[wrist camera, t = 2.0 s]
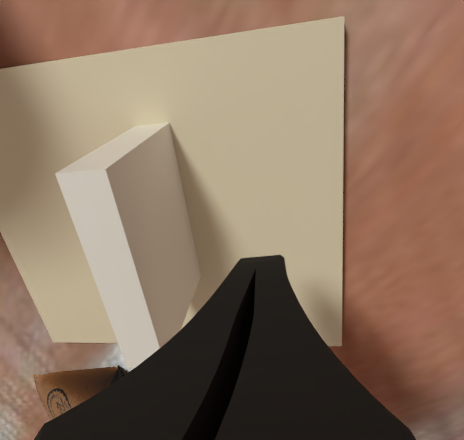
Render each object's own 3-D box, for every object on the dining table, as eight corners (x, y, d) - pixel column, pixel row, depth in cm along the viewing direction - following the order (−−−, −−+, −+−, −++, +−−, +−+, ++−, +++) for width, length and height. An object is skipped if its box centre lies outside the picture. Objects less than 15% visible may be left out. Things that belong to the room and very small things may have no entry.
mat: (342, 16, 13) (344, 15, 13) (340, 338, 20) (341, 346, 20) (-62, 78, 16) (-73, 80, 16) (58, 335, 24) (53, 342, 23)
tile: (169, 122, 15) (105, 169, 10) (200, 275, 19) (166, 368, 14) (131, 126, 16) (50, 173, 10) (169, 275, 19) (123, 367, 14)
